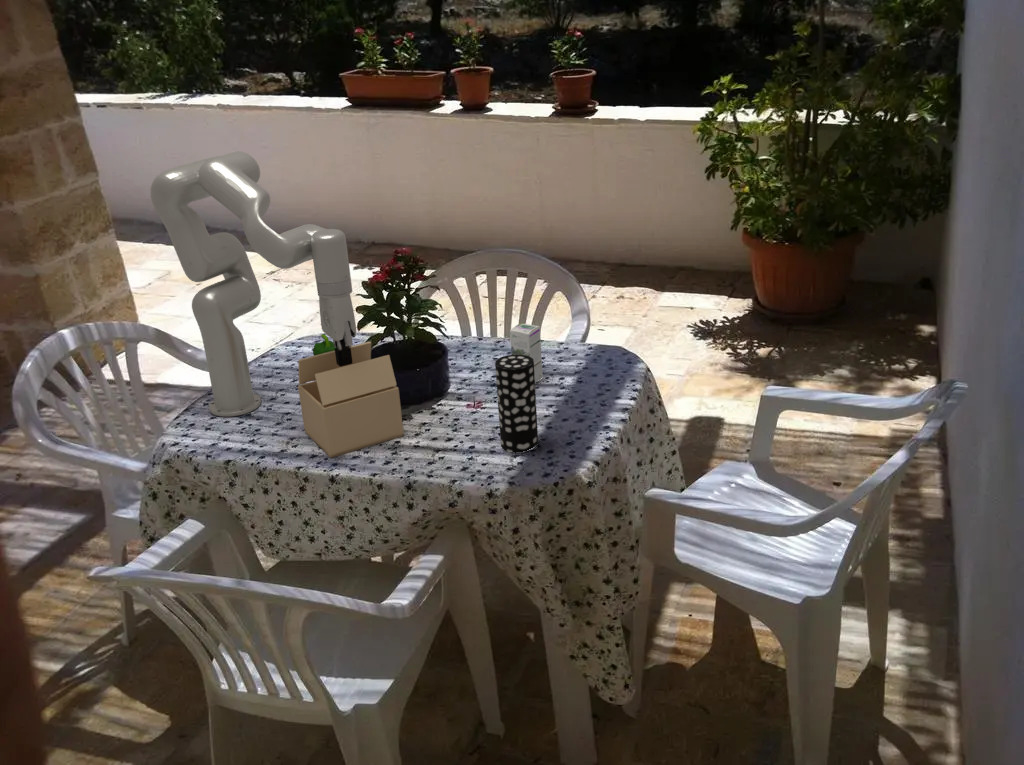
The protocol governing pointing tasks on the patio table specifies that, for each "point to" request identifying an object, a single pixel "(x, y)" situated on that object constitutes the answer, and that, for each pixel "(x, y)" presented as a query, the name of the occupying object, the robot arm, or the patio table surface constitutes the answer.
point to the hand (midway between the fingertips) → (344, 364)
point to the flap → (330, 362)
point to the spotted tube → (516, 402)
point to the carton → (351, 419)
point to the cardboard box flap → (355, 379)
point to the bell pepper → (323, 346)
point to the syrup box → (528, 345)
